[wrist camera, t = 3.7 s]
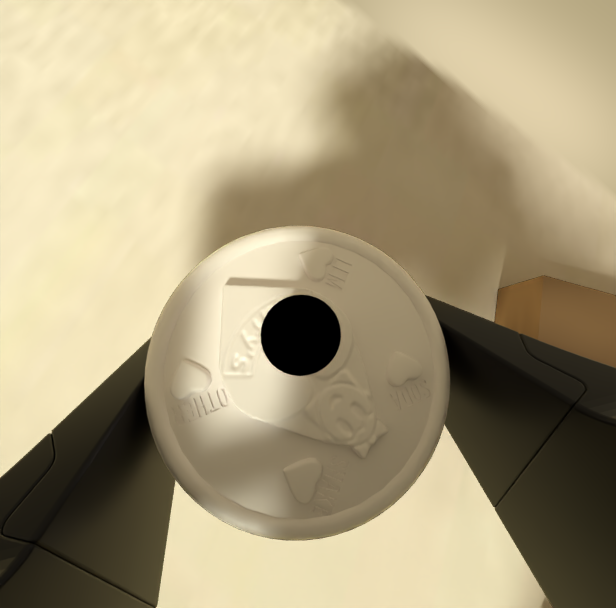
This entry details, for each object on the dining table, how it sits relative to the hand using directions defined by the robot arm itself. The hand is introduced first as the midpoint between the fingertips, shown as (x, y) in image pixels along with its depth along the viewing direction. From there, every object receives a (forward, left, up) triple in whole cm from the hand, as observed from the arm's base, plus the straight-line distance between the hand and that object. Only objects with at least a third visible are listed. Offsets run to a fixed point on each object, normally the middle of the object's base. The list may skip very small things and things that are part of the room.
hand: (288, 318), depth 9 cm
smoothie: (-1, -1, -7) cm, 7 cm away
